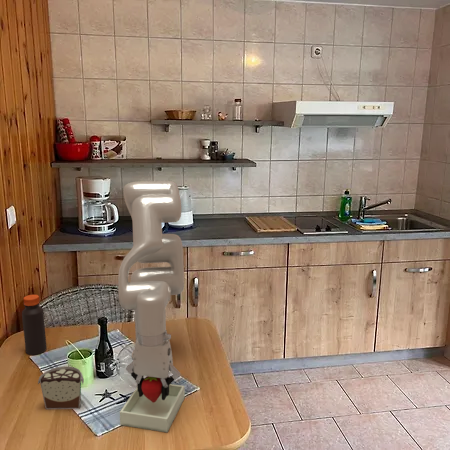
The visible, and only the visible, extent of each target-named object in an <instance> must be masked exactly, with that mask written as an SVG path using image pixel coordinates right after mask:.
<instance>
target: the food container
mask: <svg viewBox="0 0 450 450" xmlns="http://www.w3.org/2000/svg"><path fill="white" fill-rule="evenodd" d="M84 382H85V381H84V376H83V373H82V372H81V370H80V369H79V368H77V367H74V366H65V365H64V366H58V367H54V368H51V369H49V370H47V371H44V372H43V373H42V374H40V376H39V378H38V381H37V385H39V384H40V389H41V393H42V398H43V402H44V407H45V410H80V408H81V399H82V398H81V397H82V385H83V384H84Z"/></svg>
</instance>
